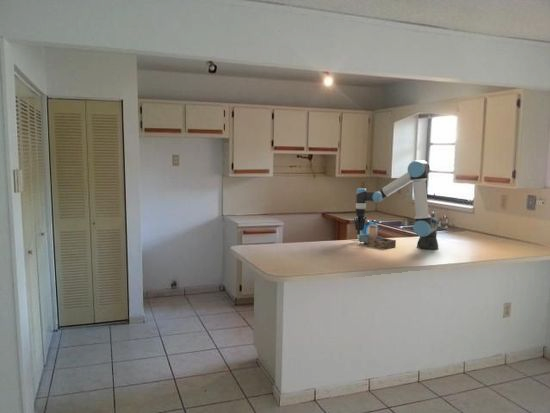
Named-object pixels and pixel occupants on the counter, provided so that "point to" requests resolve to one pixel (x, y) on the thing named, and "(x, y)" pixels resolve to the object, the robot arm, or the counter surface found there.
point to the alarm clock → (367, 226)
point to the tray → (366, 236)
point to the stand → (382, 243)
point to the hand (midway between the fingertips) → (359, 238)
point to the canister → (373, 232)
